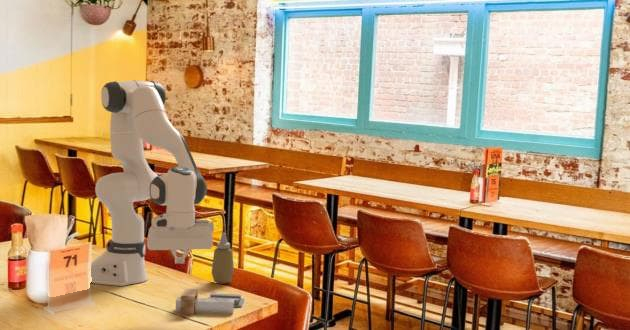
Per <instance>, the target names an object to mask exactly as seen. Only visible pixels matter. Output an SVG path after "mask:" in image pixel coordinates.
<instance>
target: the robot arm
mask: <svg viewBox="0 0 630 330" xmlns="http://www.w3.org/2000/svg"><path fill="white" fill-rule="evenodd" d="M165 89H166V88H164V85H163V84H162V83H160V82H158V81H154V80H150V81H146V80H138V79H137V80H135V79H134V80H125V81H123V80H122V81H109V82H107V83H105V84H104V85H103V87H102V89H101V94H100V95H101V96H100V99H101V104H102V107H103V109H105V110H106V111H107V112H109V113H111V114H110V122H109V132H110V134H109V135H110V152H111V155H112V157H113V158H114V159H115V160H117V161H119V162H120V164H121V166H122V169H123V172H112V173H110V174H106V175H103V176H100V177H99V178H98V179H97V181H96V182H95V183H96V184H95V187H94V188H95V189H94V192H95V195H96V197H97V199H98V201H100V202H101V203H102V204H104V206H105V207H106V208H107V210H108V213H109V215H110V219H111V238H110V239H108V241H107V242H106V243H105V249H106V250H105V251H104V252H102V253H101V254H100V255H99V256H97V257H96V258H94V259H93V261H92V262H91V264H90V266H91V277H92V283H91V284H97V285H98V284H99V285H106V286H107V285H111V286H116V287H123V286H127V285H132V284H140V283H143V282H145V281H147V280H148V278H149V276H148V274H147V270H146V263H145V255H146V248H147V249H148V250H149V251H169V250H170V251H171V254H172V255H173V257H174V264H175V265H176V264H185V262H186V261H185V260H186V259H185V258H187V257H188V254H189V251H190V250H211V249H212V248H213V246H214V239H213V233H214V230H215V224H214V222H213V221H212V220H210V219H199V218H197V219H196V208H195V205H199V204H200V203H201V202H202V201H203V200H204V199H205V198H206V196H207V193H208V186H207V183H206V180H205V178H204V177H203V175H202V174H201V172H200V171H199V169H198V166H197V164H196V162H195V160H194V157H193V155H192V153H191V150H190V149H189V146H188V144H187V142H186V139H185V138H184V136H183V134H182V133H181V131H179V130H177V129H176V128H175V127H174V125H172V123H171V121H170V120H169V118H168V115H167V112H166V107H165V104H166V101H167V100H166V99H167V94H166V90H165ZM144 143H146V144H148V145H149V146H150V145H151V146H153V147H157V148H160V149H163V150H165V151H167V152H169V153H170V154H171V155H172V156H173V157H174V159H175V161H176V163H177V165H178V166H173V167H171V168H169V169H168V170H167V172H166V173H164V174H160V175H158V174H157V173H156V172H154V170H152V169H151V167H150V165H149V163H148V161H147V159H146V155H145V151H144ZM147 200H152V202H154V203H155V204H156V205H158V206H166V210H165V211H166V212H165V213H163V214H160V215H155V216H153V217H152V218H151V226H150V227H149V228H148V234H147V241H146V240H145V220H144V218H143V216H142V215H141V214H139V213H137V212H136V211H135V207H134V203H135V202H142V201H147ZM146 246H147V247H146ZM177 250H178V251H179V250H182V251H183V255H182V256H177V252H178V251H177Z"/></svg>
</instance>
